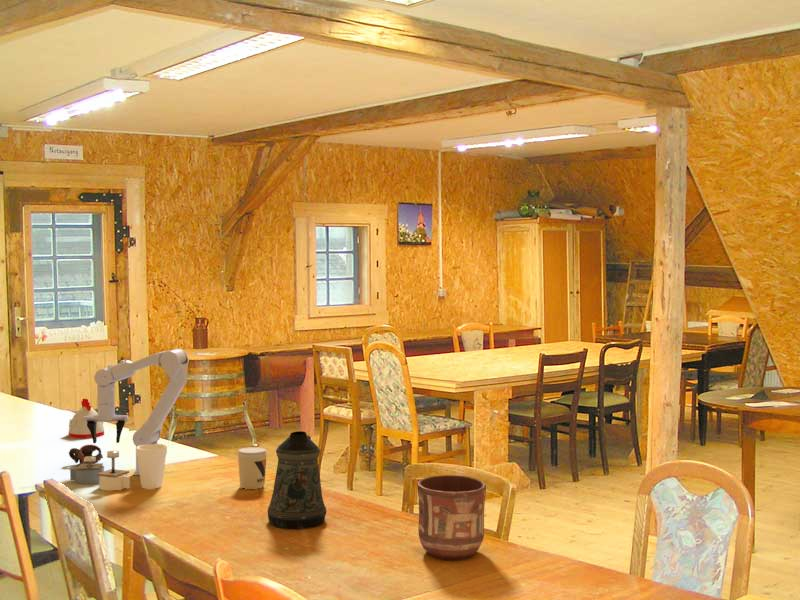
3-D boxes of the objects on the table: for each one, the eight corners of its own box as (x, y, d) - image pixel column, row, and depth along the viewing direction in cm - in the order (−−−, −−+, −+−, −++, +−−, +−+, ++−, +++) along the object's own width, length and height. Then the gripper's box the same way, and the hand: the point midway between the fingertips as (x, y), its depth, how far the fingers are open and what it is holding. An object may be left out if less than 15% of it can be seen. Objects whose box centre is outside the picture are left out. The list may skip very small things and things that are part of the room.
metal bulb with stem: (96, 477, 315) (96, 455, 315) (94, 479, 312) (94, 458, 311) (85, 477, 315) (85, 456, 314) (83, 479, 311) (83, 458, 311)
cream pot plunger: (104, 474, 303) (104, 452, 303) (112, 472, 307) (112, 450, 306) (114, 475, 302) (113, 453, 302) (121, 473, 305) (121, 451, 305)
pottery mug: (104, 463, 342) (107, 445, 338) (95, 480, 334) (98, 462, 330) (71, 454, 342) (73, 437, 338) (61, 471, 333) (63, 453, 329)
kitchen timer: (96, 430, 401) (95, 395, 400) (109, 435, 391) (109, 399, 390) (63, 434, 392) (63, 398, 391) (76, 439, 382) (76, 402, 381)
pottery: (401, 552, 242) (402, 482, 241) (447, 538, 254) (449, 471, 253) (452, 569, 229) (454, 496, 228) (499, 554, 241) (500, 483, 240)
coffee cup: (261, 491, 302) (261, 453, 302) (233, 489, 304) (233, 452, 303) (270, 484, 311) (270, 447, 311) (243, 482, 313) (243, 446, 313)
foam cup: (144, 492, 300) (143, 451, 299) (131, 486, 307) (131, 446, 306) (171, 487, 306) (171, 447, 305) (159, 481, 313) (159, 442, 312)
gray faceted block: (105, 477, 318) (105, 462, 318) (101, 483, 310) (100, 468, 309) (73, 478, 317) (73, 463, 316) (68, 484, 308) (67, 469, 308)
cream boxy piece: (93, 489, 302) (93, 473, 302) (111, 483, 310) (111, 468, 310) (120, 492, 298) (120, 476, 298) (137, 486, 306) (137, 471, 306)
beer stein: (271, 531, 258) (271, 440, 257) (262, 512, 277) (262, 427, 276) (331, 527, 263) (332, 437, 261) (318, 509, 281) (319, 425, 280)
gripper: (129, 401, 331) (129, 439, 332) (86, 401, 329) (86, 440, 330) (126, 404, 324) (126, 443, 325) (82, 404, 322) (82, 444, 323)
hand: (106, 442), depth 327 cm, fingers open, 7 cm apart
